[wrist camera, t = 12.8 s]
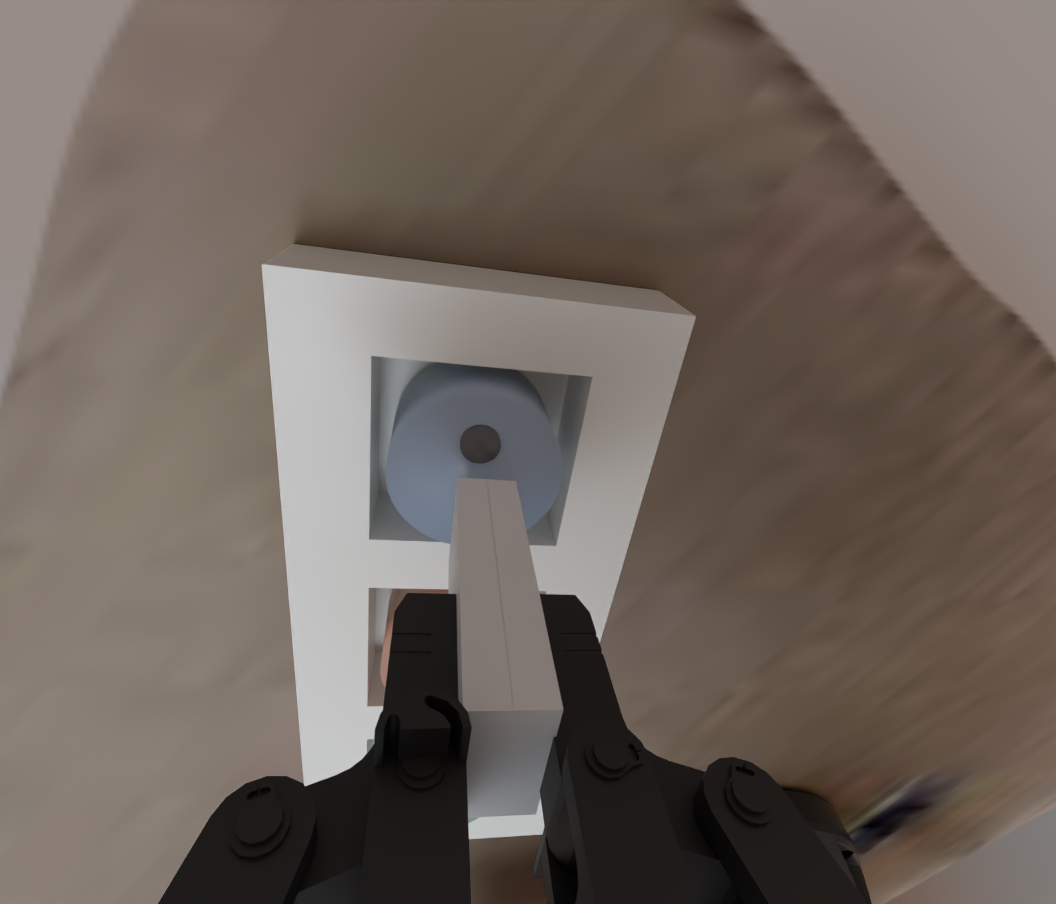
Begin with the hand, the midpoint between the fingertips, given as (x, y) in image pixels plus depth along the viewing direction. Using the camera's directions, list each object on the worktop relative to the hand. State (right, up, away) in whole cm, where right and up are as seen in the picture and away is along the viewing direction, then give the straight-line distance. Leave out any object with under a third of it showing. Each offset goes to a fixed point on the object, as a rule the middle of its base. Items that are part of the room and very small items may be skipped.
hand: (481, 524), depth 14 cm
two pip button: (-1, +3, +4) cm, 5 cm away
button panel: (-2, -4, +8) cm, 9 cm away
